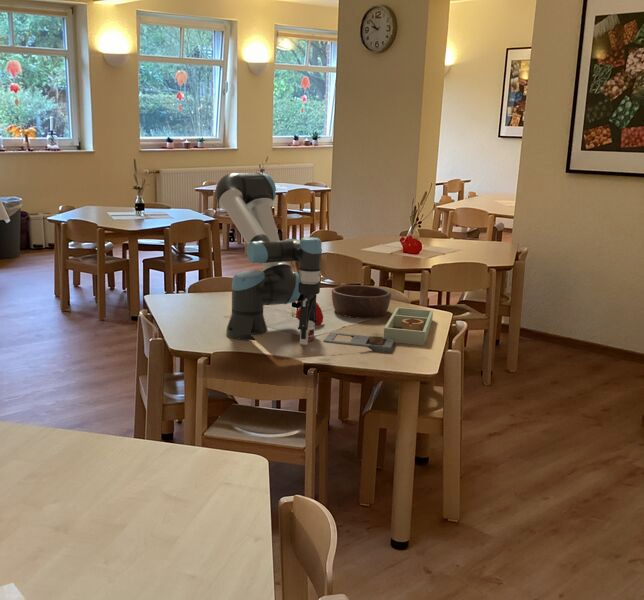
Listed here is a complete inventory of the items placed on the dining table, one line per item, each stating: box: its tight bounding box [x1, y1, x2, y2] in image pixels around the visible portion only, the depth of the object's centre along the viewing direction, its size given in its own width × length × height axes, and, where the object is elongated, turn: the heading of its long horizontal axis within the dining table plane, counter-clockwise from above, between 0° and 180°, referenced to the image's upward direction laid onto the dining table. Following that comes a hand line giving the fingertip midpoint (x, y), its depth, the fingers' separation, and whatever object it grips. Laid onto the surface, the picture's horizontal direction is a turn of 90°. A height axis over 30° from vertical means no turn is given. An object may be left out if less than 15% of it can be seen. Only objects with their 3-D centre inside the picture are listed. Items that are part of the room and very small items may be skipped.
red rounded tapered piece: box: [296, 302, 324, 326], centre depth 289 cm, size 10×10×11 cm
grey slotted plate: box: [323, 332, 396, 354], centre depth 269 cm, size 24×12×2 cm, turn 77°
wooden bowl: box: [331, 284, 392, 319], centre depth 316 cm, size 25×25×10 cm
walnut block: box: [369, 332, 384, 346], centre depth 268 cm, size 4×4×4 cm
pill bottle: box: [302, 320, 315, 343], centre depth 266 cm, size 5×5×8 cm
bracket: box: [401, 319, 424, 331], centre depth 296 cm, size 18×8×7 cm, turn 167°
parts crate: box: [383, 306, 434, 346], centre depth 292 cm, size 15×37×5 cm, turn 167°
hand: (306, 343), depth 267 cm, fingers open, 9 cm apart
